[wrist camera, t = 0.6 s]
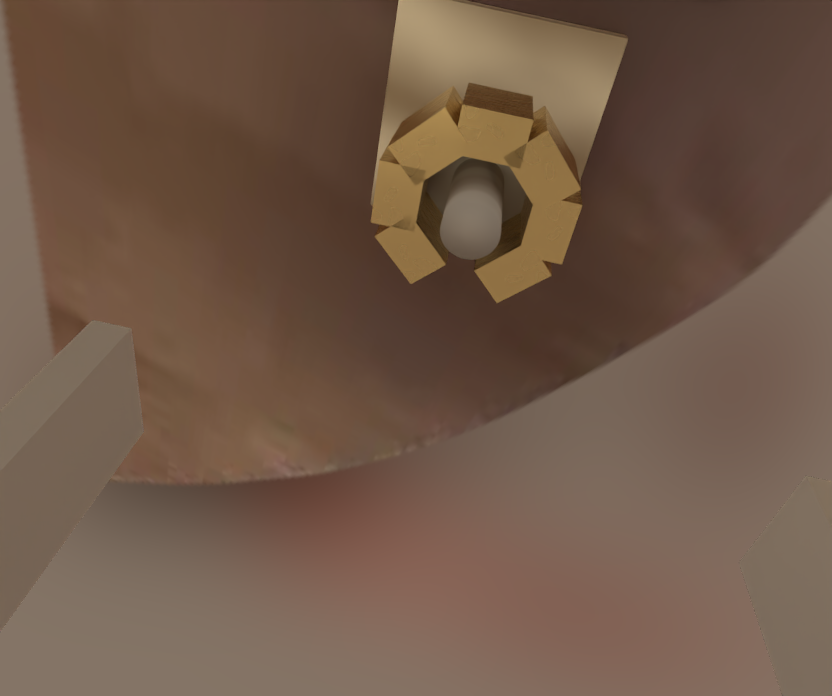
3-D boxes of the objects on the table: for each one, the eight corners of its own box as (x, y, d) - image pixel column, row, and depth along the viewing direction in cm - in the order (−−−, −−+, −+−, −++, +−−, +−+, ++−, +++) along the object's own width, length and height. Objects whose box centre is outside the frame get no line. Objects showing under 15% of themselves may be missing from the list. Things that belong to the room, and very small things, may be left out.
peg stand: (403, -14, 28) (336, 35, 18) (625, 34, 28) (682, 110, 18) (373, 197, 34) (310, 323, 24) (557, 237, 34) (571, 381, 24)
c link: (404, 68, 23) (389, 88, 20) (597, 110, 22) (606, 135, 20) (378, 239, 26) (363, 273, 24) (542, 275, 26) (544, 314, 24)
